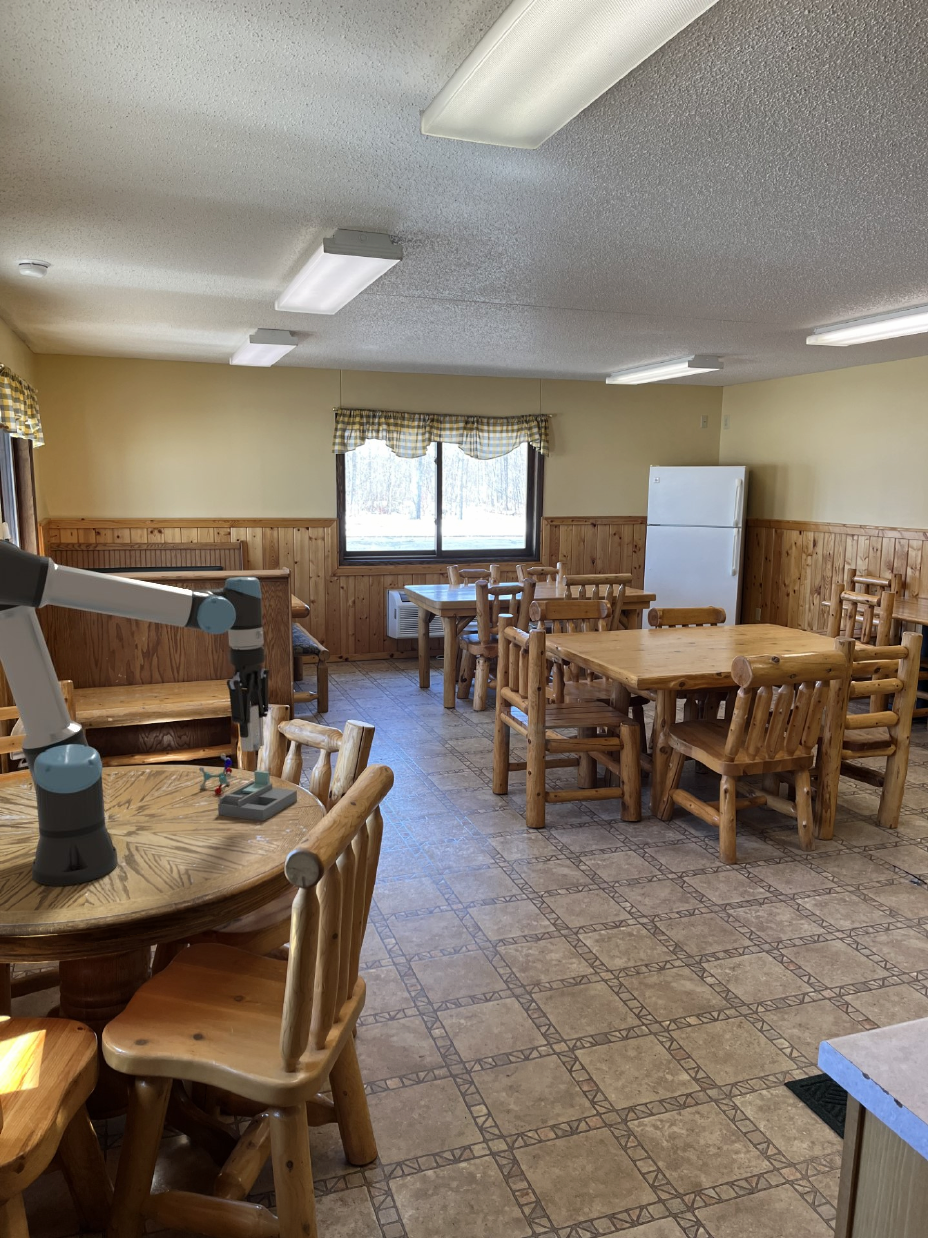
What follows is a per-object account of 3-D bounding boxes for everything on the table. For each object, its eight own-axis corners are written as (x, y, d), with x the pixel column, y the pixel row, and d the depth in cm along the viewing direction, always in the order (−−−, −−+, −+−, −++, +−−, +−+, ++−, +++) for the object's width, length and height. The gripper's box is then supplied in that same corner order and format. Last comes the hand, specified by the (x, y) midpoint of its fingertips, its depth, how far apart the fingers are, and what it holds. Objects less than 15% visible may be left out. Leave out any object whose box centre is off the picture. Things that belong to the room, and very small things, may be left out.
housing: (263, 821, 192) (262, 803, 191) (218, 814, 196) (217, 797, 196) (297, 800, 205) (296, 784, 204) (254, 795, 209) (253, 778, 209)
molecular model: (180, 779, 210) (201, 742, 213) (201, 787, 219) (221, 751, 221) (216, 799, 206) (237, 761, 208) (235, 806, 214) (255, 769, 217)
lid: (255, 794, 202) (254, 779, 201) (242, 792, 203) (241, 777, 202) (270, 786, 207) (269, 771, 207) (257, 784, 208) (256, 770, 208)
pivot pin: (254, 751, 194) (252, 708, 192) (241, 750, 195) (238, 707, 194) (263, 747, 197) (261, 704, 196) (250, 746, 198) (247, 703, 197)
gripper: (239, 653, 184) (245, 760, 187) (281, 640, 199) (286, 739, 202) (209, 652, 186) (216, 757, 190) (253, 639, 202) (259, 736, 205)
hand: (252, 747), depth 196 cm, fingers closed on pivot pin, 3 cm apart
